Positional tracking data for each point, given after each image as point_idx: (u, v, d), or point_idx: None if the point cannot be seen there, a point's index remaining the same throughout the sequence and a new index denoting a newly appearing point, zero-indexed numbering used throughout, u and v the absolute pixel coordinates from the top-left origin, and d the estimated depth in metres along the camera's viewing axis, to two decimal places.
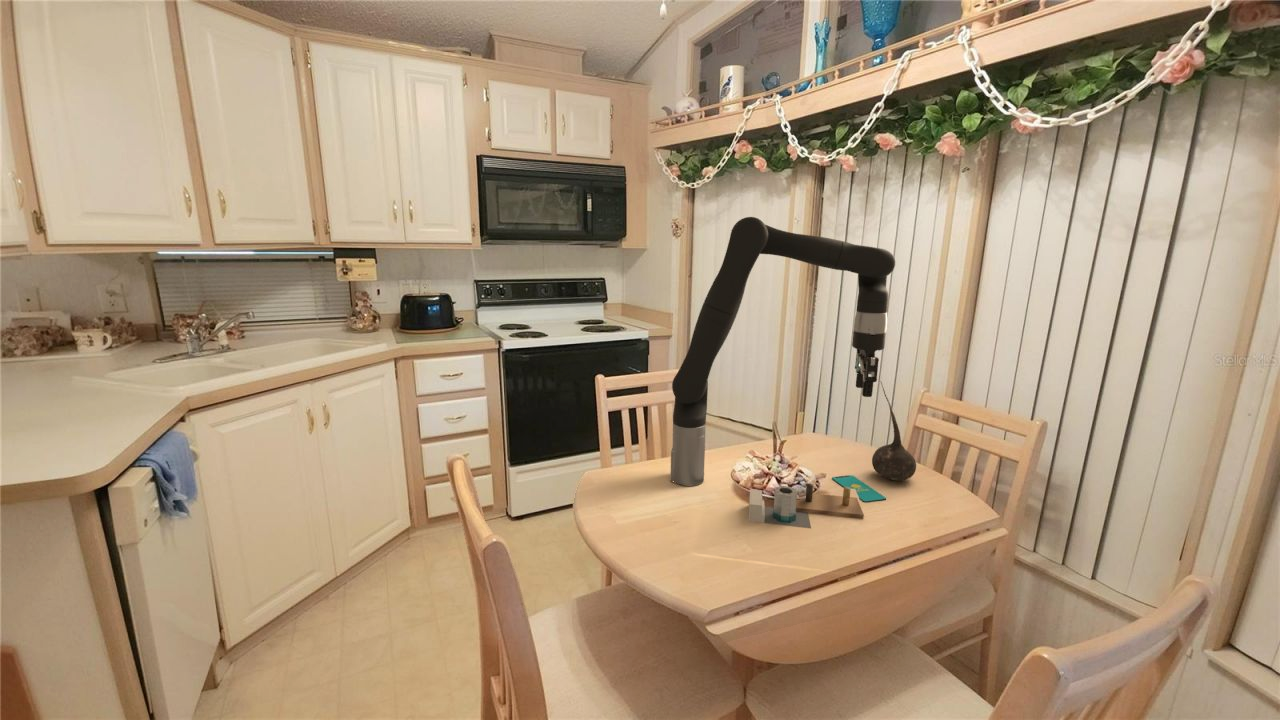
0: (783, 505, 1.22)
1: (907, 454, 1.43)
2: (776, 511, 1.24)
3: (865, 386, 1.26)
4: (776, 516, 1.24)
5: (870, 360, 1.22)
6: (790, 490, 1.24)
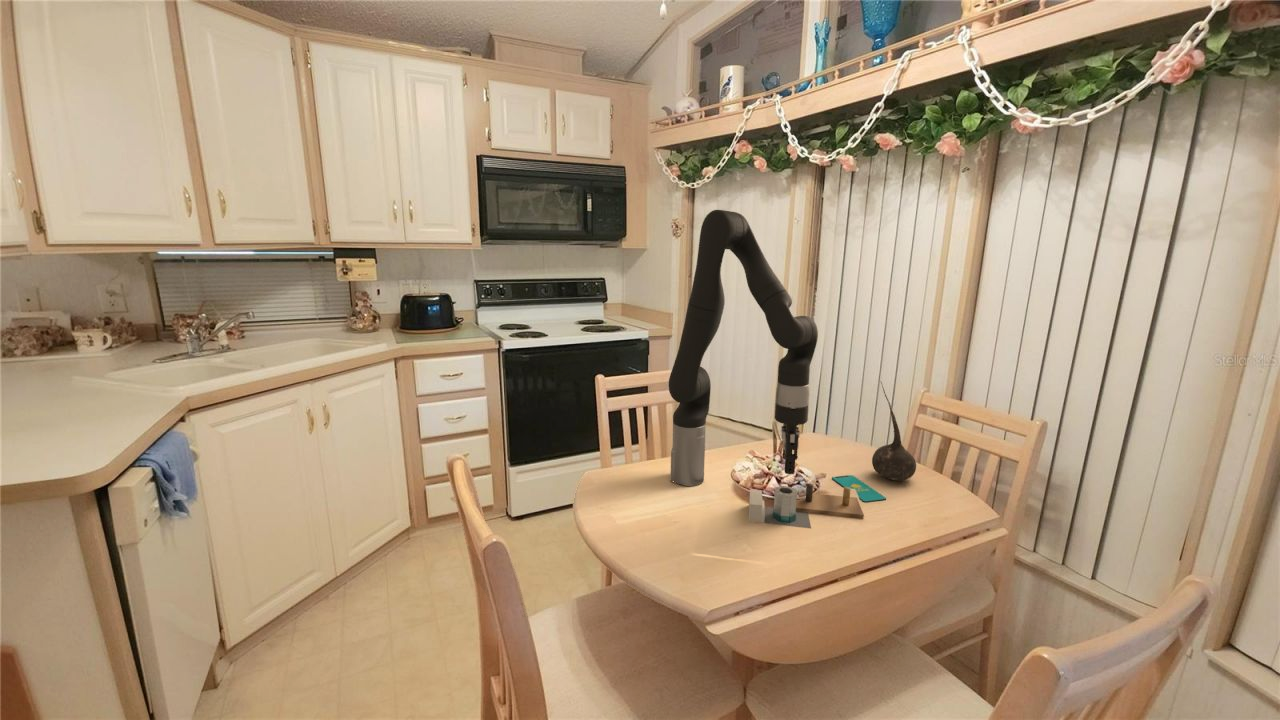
0: (783, 505, 1.22)
1: (907, 454, 1.43)
2: (776, 511, 1.24)
3: (787, 463, 1.17)
4: (776, 516, 1.24)
5: (789, 437, 1.14)
6: (790, 490, 1.24)
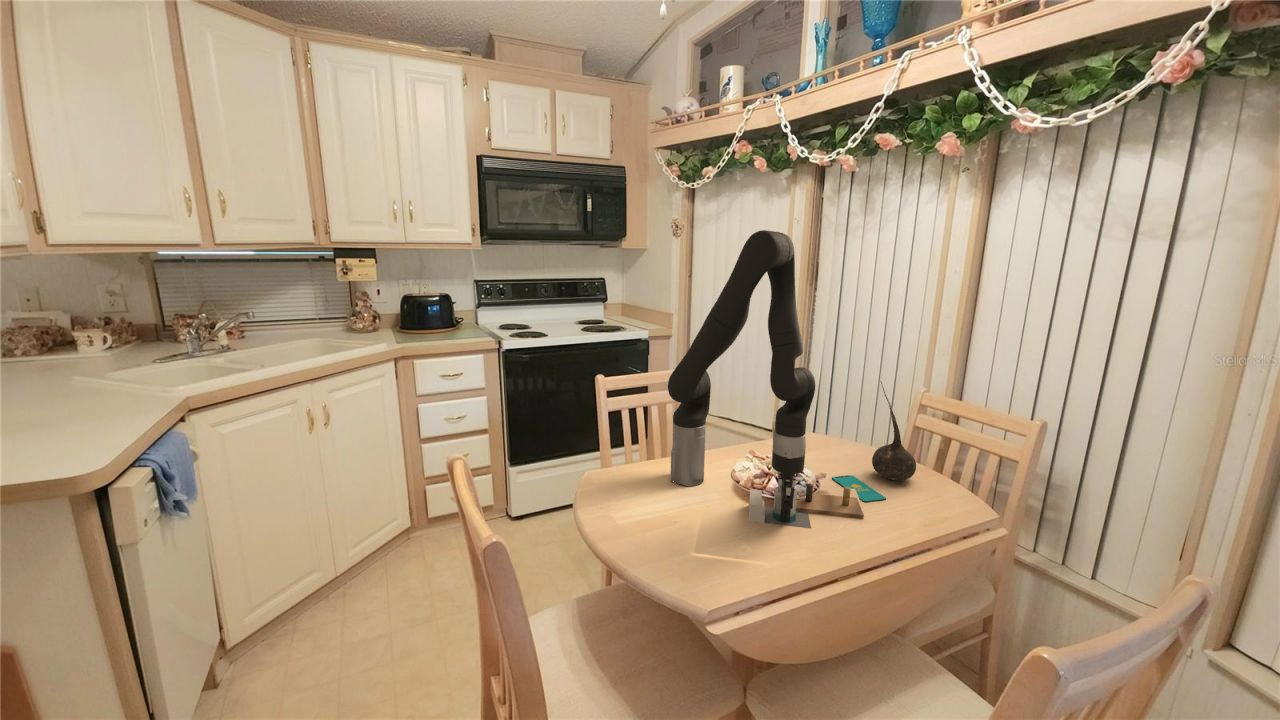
0: None
1: (907, 454, 1.43)
2: (776, 511, 1.24)
3: (782, 511, 1.21)
4: (776, 516, 1.24)
5: (785, 491, 1.17)
6: None
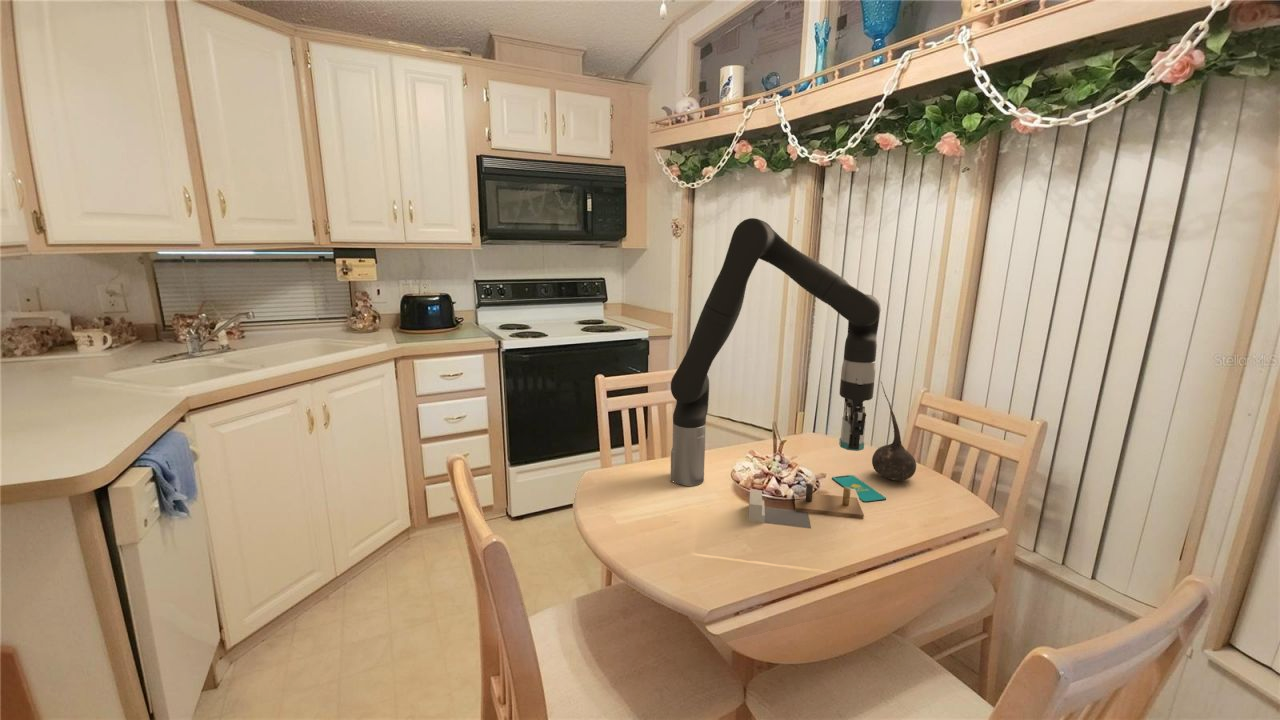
0: None
1: (907, 454, 1.43)
2: (844, 440, 1.25)
3: (851, 439, 1.22)
4: (844, 445, 1.24)
5: (857, 416, 1.18)
6: None
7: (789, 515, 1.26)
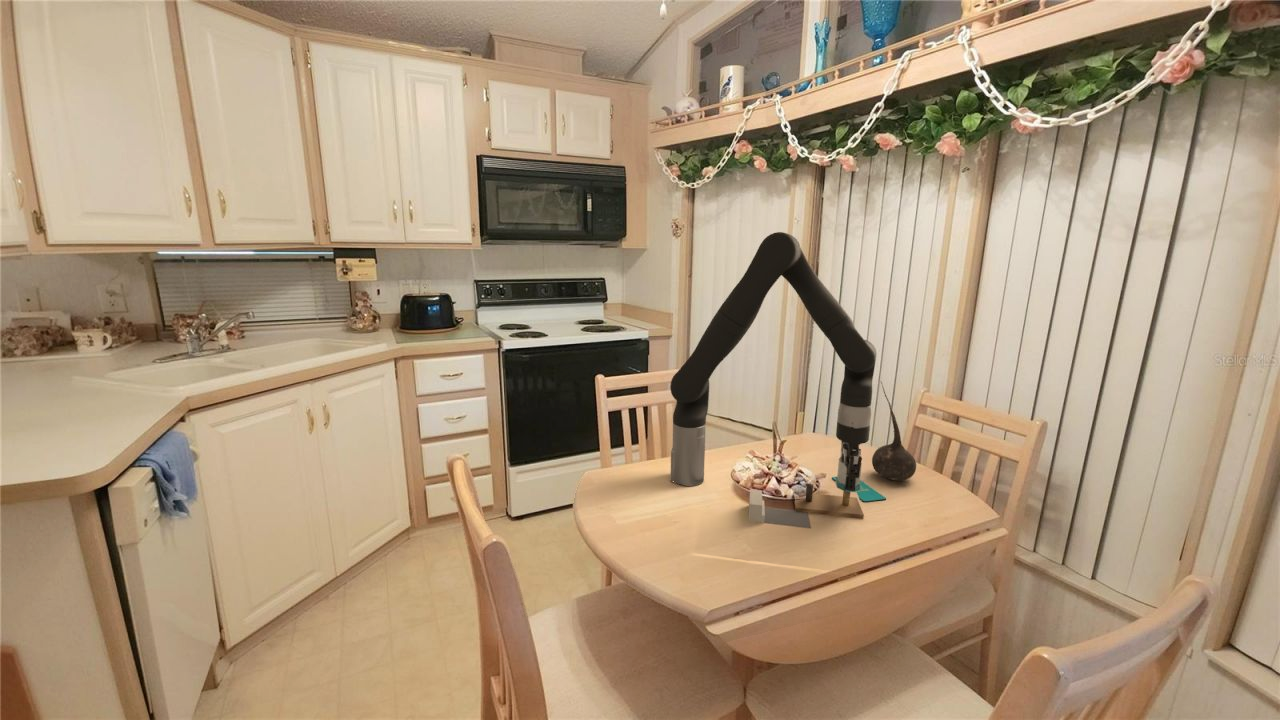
0: None
1: (907, 454, 1.43)
2: (840, 481, 1.27)
3: (847, 480, 1.24)
4: (841, 486, 1.27)
5: (853, 459, 1.20)
6: None
7: (789, 515, 1.26)
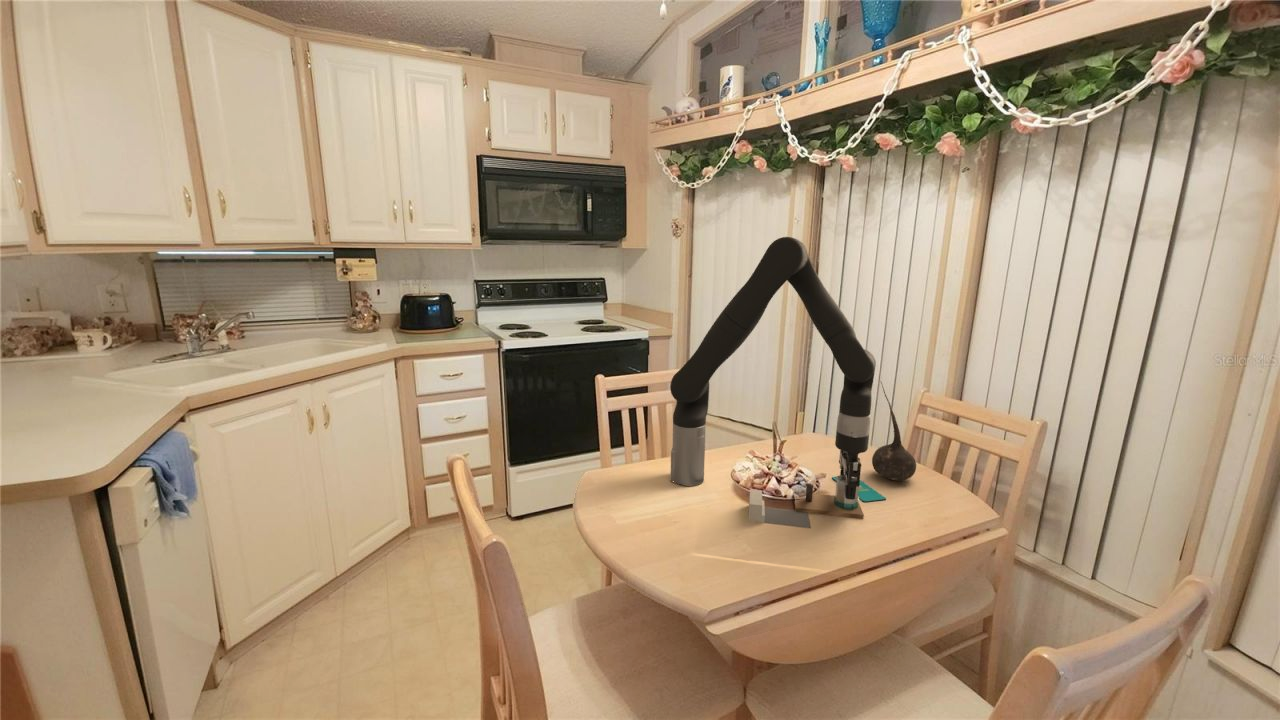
0: None
1: (907, 454, 1.43)
2: (838, 499, 1.28)
3: (848, 489, 1.24)
4: (839, 504, 1.28)
5: (852, 465, 1.20)
6: (852, 478, 1.29)
7: (789, 515, 1.26)
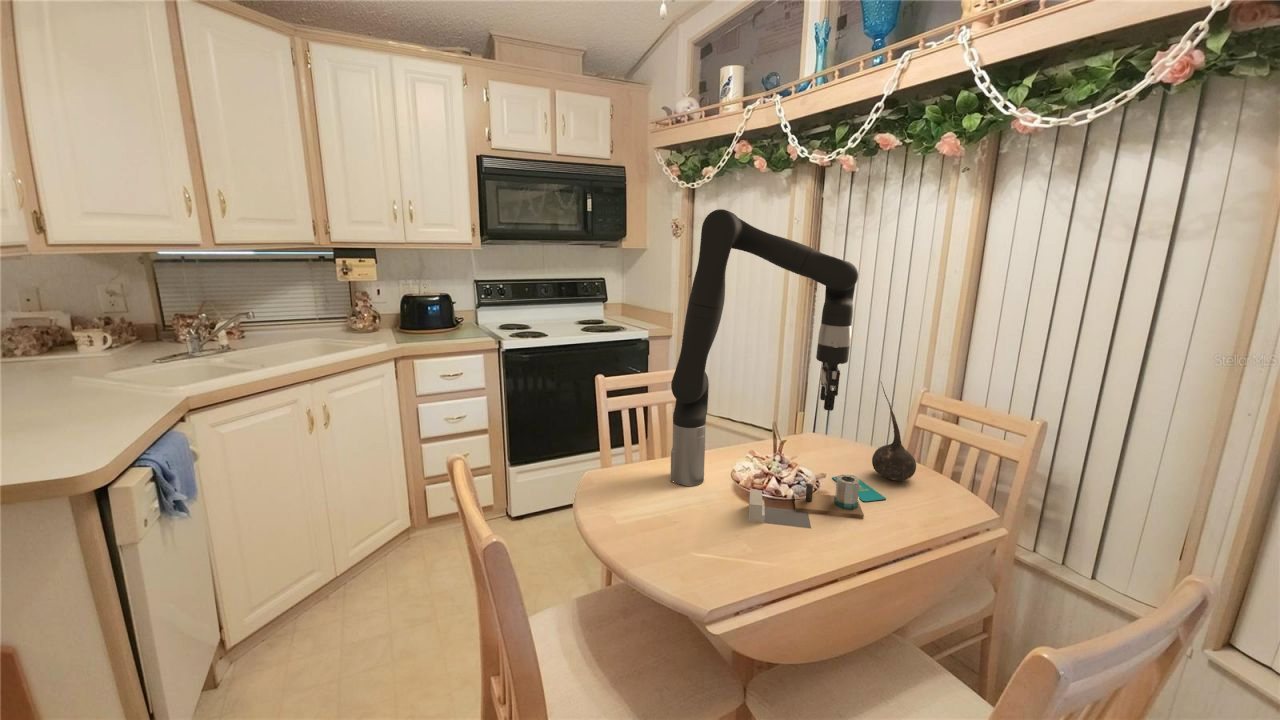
0: (846, 493, 1.26)
1: (907, 454, 1.43)
2: (838, 499, 1.28)
3: (826, 399, 1.24)
4: (839, 504, 1.28)
5: (831, 374, 1.21)
6: (852, 478, 1.29)
7: (789, 515, 1.26)
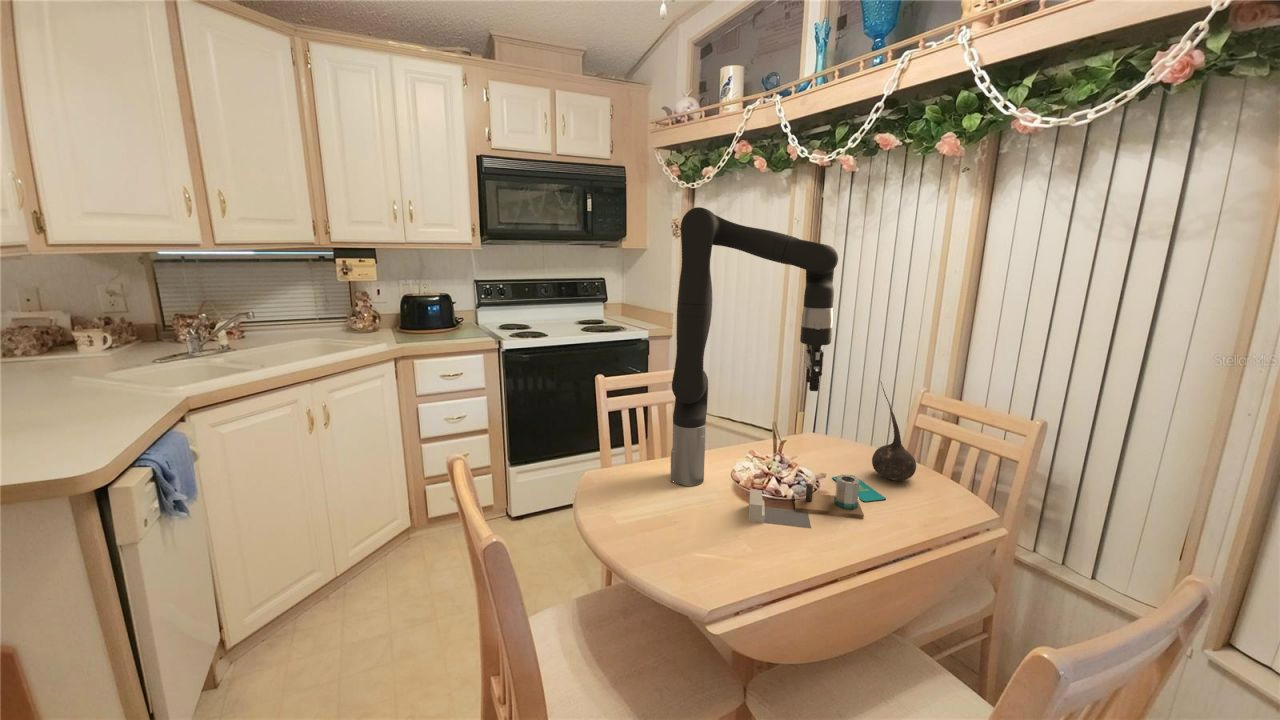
0: (846, 493, 1.26)
1: (907, 454, 1.43)
2: (838, 499, 1.28)
3: (811, 381, 1.27)
4: (839, 504, 1.28)
5: (815, 355, 1.24)
6: (852, 478, 1.29)
7: (789, 515, 1.26)
